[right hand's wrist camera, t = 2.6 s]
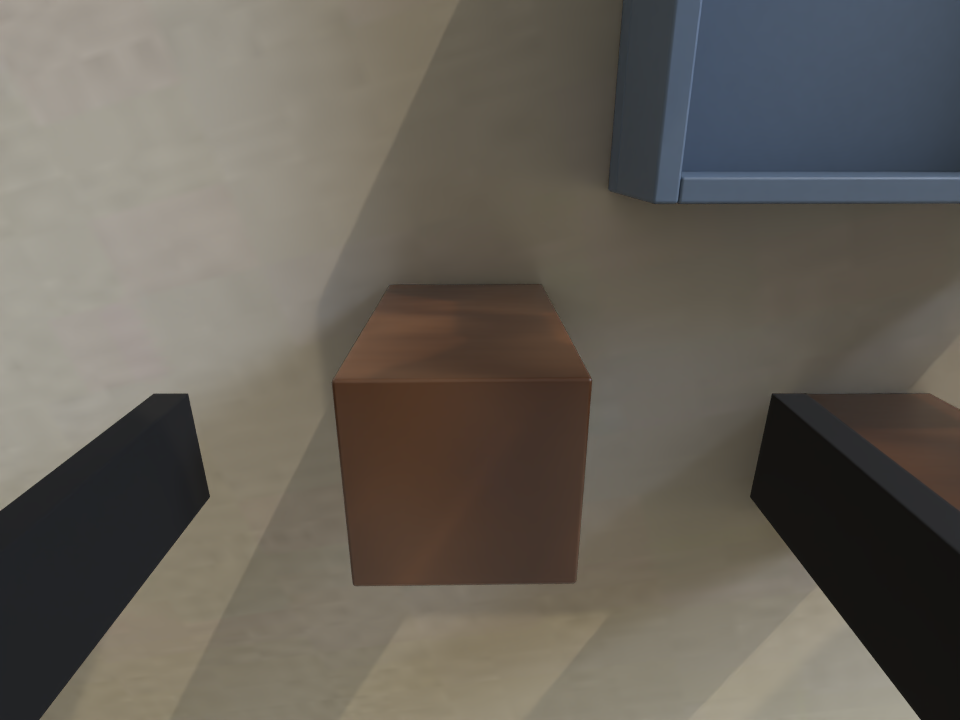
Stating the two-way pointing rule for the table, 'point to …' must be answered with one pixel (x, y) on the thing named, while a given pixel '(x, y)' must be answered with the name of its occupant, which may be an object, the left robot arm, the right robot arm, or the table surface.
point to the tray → (788, 102)
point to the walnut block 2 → (907, 434)
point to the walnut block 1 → (463, 439)
